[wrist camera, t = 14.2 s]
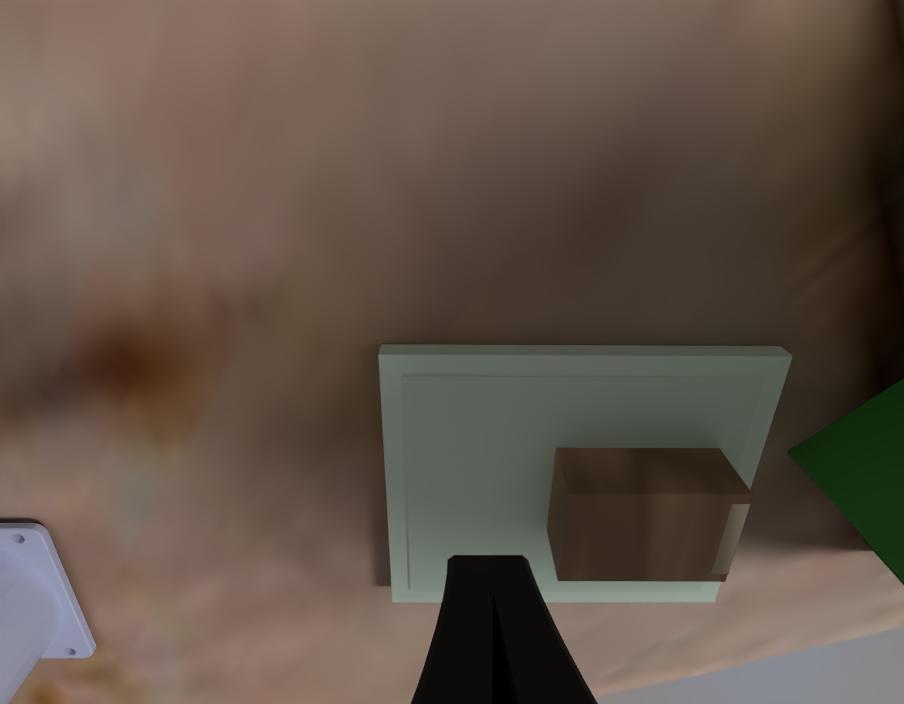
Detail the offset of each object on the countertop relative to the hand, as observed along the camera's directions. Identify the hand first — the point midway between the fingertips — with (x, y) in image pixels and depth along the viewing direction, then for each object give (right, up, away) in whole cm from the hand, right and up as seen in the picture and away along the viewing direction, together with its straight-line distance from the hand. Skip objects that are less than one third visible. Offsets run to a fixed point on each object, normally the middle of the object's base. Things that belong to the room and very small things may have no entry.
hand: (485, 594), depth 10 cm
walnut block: (+3, -1, +10) cm, 11 cm away
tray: (+4, -1, +12) cm, 13 cm away
